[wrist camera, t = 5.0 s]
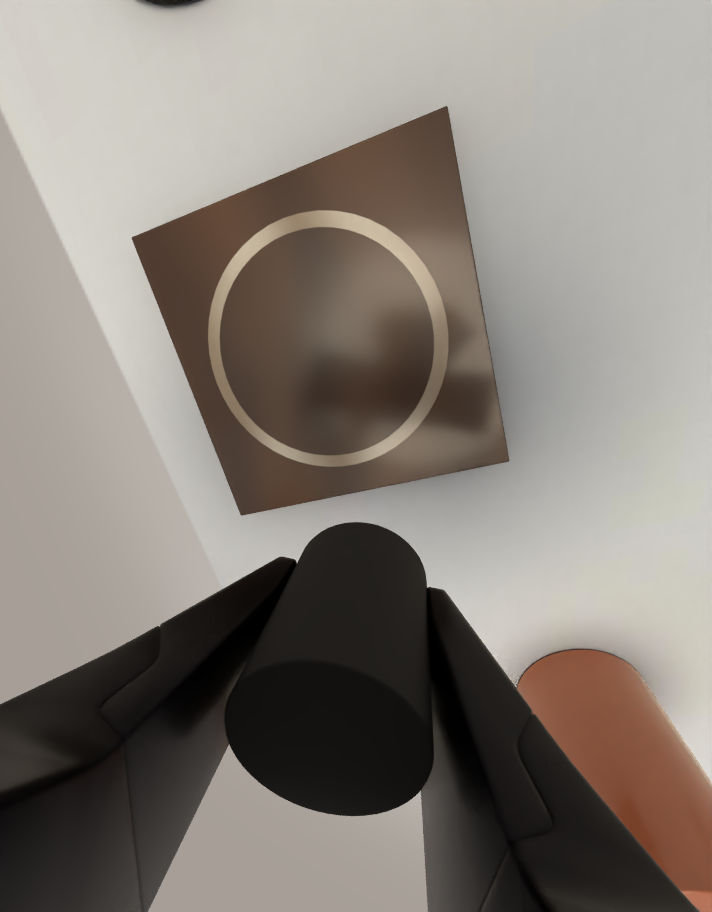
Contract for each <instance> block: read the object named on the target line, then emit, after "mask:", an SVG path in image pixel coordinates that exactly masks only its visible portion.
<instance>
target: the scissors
mask: <svg viewBox="0 0 712 912" xmlns="http://www.w3.org/2000/svg"><path fill="white" fill-rule="evenodd" d="M147 1H150V2H153V3H160V4H176V3H185V2H188V1H191V0H147Z"/></svg>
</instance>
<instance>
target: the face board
mask: <svg viewBox="0 0 712 912" xmlns="http://www.w3.org/2000/svg"><path fill="white" fill-rule="evenodd" d="M132 240H133V243H134V245H135V248H136V250H137V253H138V255H139V258H140V260H141V263H142V266H143V268H144V271H145V273H146V276H147V278H148V281H149V283H150V286H151V288H152V291H153V293H154V296H155V299H156V301H157V304H158V306H159V309H160V311H161V314H162V316H163V319H164V321H165V324H166V326H167V329H168V331H169V334H170V337H171V339H172V342H173V344H174V347H175V349H176V352H177V354H178V357H179V359H180V362H181V364H182V367H183V369H184V372H185V375H186V377H187V380H188V382H189V385H190V387H191V390H192V392H193V395H194V397H195V400H196V402H197V405H198V407H199V410H200V413H201V415H202V418H203V420H204V423H205V425H206V428H207V430H208V433H209V435H210V438H211V440H212V443H213V445H214V448H215V451H216V453H217V456H218V458H219V461H220V463H221V466H222V468H223V471H224V473H225V476H226V478H227V481H228V484H229V486H230V489H231V491H232V494H233V496H234V499H235V501H236V504H237V506H238V509H239V511H240V514H241V515H246V514H251V513H256V512H261V511H266V510H271V509H276V508H281V507H286V506H291V505H296V504H301V503H306V502H311V501H316V500H321V499H325V498H330V497H335V496H340V495H345V494H350V493H355V492H360V491H365V490H370V489H375V488H380V487H385V486H390V485H395V484H400V483H405V482H409V481H414V480H419V479H424V478H429V477H434V476H439V475H444V474H449V473H454V472H459V471H464V470H469V469H474V468H479V467H484V466H489V465H493V464H498V463H503V462H508V461H509V456H508V451H507V445H506V439H505V433H504V428H503V422H502V416H501V411H500V405H499V399H498V393H497V388H496V382H495V376H494V370H493V365H492V359H491V353H490V348H489V342H488V336H487V330H486V325H485V319H484V313H483V307H482V302H481V296H480V290H479V284H478V279H477V273H476V267H475V262H474V256H473V250H472V244H471V239H470V233H469V227H468V221H467V216H466V210H465V204H464V199H463V193H462V187H461V181H460V176H459V170H458V164H457V158H456V153H455V147H454V141H453V136H452V130H451V124H450V118H449V113H448V107H447V106H446V107H443V108H441V109H439V110H436V111H434V112H431V113H429V114H427V115H424V116H422V117H419V118H417V119H415V120H412V121H410V122H407V123H405V124H403V125H400V126H398V127H395V128H393V129H391V130H388V131H386V132H383V133H381V134H379V135H376V136H374V137H371V138H369V139H367V140H364V141H362V142H359V143H357V144H355V145H352V146H350V147H348V148H345V149H343V150H340V151H338V152H336V153H333V154H331V155H328V156H326V157H324V158H321V159H319V160H316V161H314V162H312V163H309V164H307V165H304V166H302V167H300V168H297V169H295V170H292V171H290V172H288V173H285V174H283V175H280V176H278V177H276V178H273V179H271V180H268V181H266V182H264V183H261V184H259V185H257V186H254V187H252V188H249V189H247V190H245V191H242V192H240V193H237V194H235V195H233V196H230V197H228V198H225V199H223V200H221V201H218V202H216V203H213V204H211V205H209V206H206V207H204V208H201V209H199V210H197V211H194V212H192V213H189V214H187V215H185V216H182V217H180V218H177V219H175V220H173V221H170V222H168V223H165V224H163V225H161V226H158V227H156V228H154V229H151V230H149V231H146V232H144V233H142V234H139V235H137V236H134V237H132Z"/></svg>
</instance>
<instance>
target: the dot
mask: <svg viewBox="0 0 712 912" xmlns="http://www.w3.org/2000/svg"><path fill="white" fill-rule="evenodd" d="M224 722H225V731H226V735H227V739H228V742H229V744H230V746H231V749H232V750H233V752H234V754H235V756H236V757H237V759H238V760H239V762H240V763H241V764H242V766H243V767H244V768H245V769H246V770H247V771H248V772H249V773H250V774H251V775H252V776H253V777H254V778H255V779H256V780H257V781H258V782H260V783H261V784H262V785H263V786H265V787H266V788H267V789H269V790H270V791H272V792H274V793H275V794H277V795H278V796H280V797H282V798H284V799H286V800H288V801H290V802H292V803H295V804H297V805H299V806H302V807H305V808H308V809H311V810H315V811H318V812H323V813H327V814H334V815H343V816H365V815H372V814H378V813H382V812H386V811H389V810H392V809H394V808H397V807H399V806H401V805H403V804H405V803H406V802H408V801H409V800H411V799H412V798H413V797H415V796H416V794H418V793H419V792H420V790H421V789H422V788H423V787H424V785H425V784H426V782H427V780H428V778H429V776H430V773H431V771H432V767H433V762H434V739H433V717H432V695H431V672H430V650H429V630H428V609H427V583H426V574H425V570H424V567H423V564H422V562H421V560H420V558H419V556H418V555H417V553H416V552H415V550H414V549H413V548H412V547H411V546H410V545H409V544H408V543H407V542H406V541H405V540H404V539H403V538H401V537H400V536H399V535H397V534H396V533H394V532H392V531H390V530H388V529H386V528H383V527H381V526H378V525H374V524H369V523H362V522H351V523H343V524H339V525H335V526H333V527H330V528H327V529H326V530H324V531H322V532H320V533H319V534H318V535H316V536H315V537H314V538H313V539H312V540H311V541H310V542H309V543H308V545H307V546H306V547H305V549H304V551H303V553H302V555H301V557H300V559H299V561H298V563H297V565H296V567H295V569H294V571H293V572H292V574H291V576H290V578H289V580H288V582H287V584H286V586H285V588H284V590H283V592H282V594H281V596H280V598H279V600H278V602H277V604H276V606H275V608H274V610H273V612H272V613H271V615H270V617H269V619H268V621H267V623H266V625H265V627H264V629H263V631H262V633H261V635H260V637H259V639H258V641H257V643H256V645H255V647H254V649H253V651H252V653H251V654H250V656H249V658H248V660H247V662H246V664H245V666H244V668H243V670H242V672H241V674H240V676H239V678H238V680H237V682H236V684H235V686H234V688H233V690H232V692H231V694H230V696H229V697H228V700H227V704H226V707H225V716H224Z"/></svg>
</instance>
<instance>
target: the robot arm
mask: <svg viewBox="0 0 712 912" xmlns="http://www.w3.org/2000/svg"><path fill="white" fill-rule="evenodd" d="M296 565H297V563H296V560H295V559H291V558H286V557H279V558H277V559H275V560H273V561H271V562H270V563H268V564H266V565H264V566H263V567H261V568H259V569H257V570H256V571H254V572H252V573H250V574H248V575H247V576H245V577H243V578H241V579H240V580H238V581H236V582H234V583H233V584H231V585H229V586H227V587H226V588H224V589H222V590H220V591H219V592H217V593H215V594H213V595H211V596H210V597H208V598H206V599H205V600H203V601H201V602H199V603H197V604H196V605H194V606H192V607H190V608H189V609H187V610H185V611H183V612H182V613H180V614H178V615H176V616H174V617H173V618H171V619H169V620H167V621H166V622H164V623H162V624H161V625H160V627H159V626H157V627H155V628H153V629H151V630H149V631H148V632H146V633H144V634H142V635H141V636H139V637H137V638H135V639H133V640H132V641H130V642H128V643H126V644H124V645H122V646H120V647H118V648H117V649H115V650H113V651H111V652H109V653H107V654H105V655H103V656H101V657H99V658H97V659H95V660H93V661H91V662H88V663H86V664H84V665H82V666H80V667H78V668H76V669H74V670H72V671H70V672H68V673H66V674H63V675H61V676H60V677H57V678H55V679H53V680H51V681H49V682H46V683H45V684H42V685H40V686H38V687H36V688H34V689H32V690H30V691H28V692H25V693H23V694H21V695H19V696H17V697H15V698H13V699H11V700H9V701H6V702H4V703H2V704H0V912H148V910H149V908H150V906H151V904H152V902H153V900H154V898H155V896H156V893H157V892H158V889H159V887H160V885H161V883H162V881H163V879H164V877H165V875H166V873H167V871H168V869H169V867H170V865H171V863H172V860H173V858H174V856H175V854H176V852H177V850H178V848H179V846H180V844H181V842H182V840H183V838H184V836H185V834H186V831H187V830H188V827H189V826H190V823H191V821H192V819H193V817H194V815H195V813H196V811H197V809H198V807H199V805H200V803H201V800H202V799H203V797H204V795H205V792H206V790H207V788H208V786H209V784H210V782H211V780H212V778H213V776H214V774H215V772H216V770H217V768H218V766H219V764H220V762H221V759H222V757H223V755H224V753H225V751H226V749H227V747H228V745H229V742H228V739H227V735H226V731H225V722H224V716H225V707H226V704H227V700H228V697H229V696H230V694H231V692H232V690H233V688H234V686H235V684H236V682H237V680H238V678H239V676H240V674H241V672H242V670H243V668H244V666H245V664H246V662H247V660H248V658H249V656H250V654H251V653H252V651H253V649H254V647H255V645H256V643H257V641H258V639H259V637H260V635H261V633H262V631H263V629H264V627H265V625H266V623H267V621H268V619H269V617H270V615H271V613H272V612H273V610H274V608H275V606H276V604H277V602H278V600H279V598H280V596H281V594H282V592H283V590H284V588H285V586H286V584H287V582H288V580H289V578H290V576H291V574H292V572H293V571H294V569H295V567H296ZM427 609H428V630H429V650H430V672H431V695H432V717H433V739H434V762H433V767H432V771H431V773H430V776H429V778H428V780H427V782H426V784H425V785H424V787H423V788H422V789H421V799H422V817H423V834H424V852H425V869H426V886H427V902H428V912H700V911H699V910H698V909H697V908H696V907H695V906H694V905H693V904H692V903H691V901H690V900H689V899H688V898H687V897H686V896H685V895H684V894H683V893H682V891H681V890H680V889H679V888H678V887H677V886H676V885H675V884H674V882H673V881H672V880H671V879H670V878H669V876H668V875H667V874H666V873H665V872H664V871H663V869H662V868H661V867H660V866H659V865H658V864H657V862H656V861H655V860H654V859H653V858H652V857H651V855H650V854H649V853H648V852H647V851H646V850H645V848H644V847H643V846H642V845H641V844H640V843H639V841H638V840H637V839H636V838H635V837H634V835H633V834H632V833H631V832H630V831H629V830H628V828H627V827H626V826H625V825H624V824H623V823H622V821H621V820H620V819H619V818H618V817H617V816H616V814H615V813H614V812H613V811H612V810H611V809H610V807H609V806H608V805H607V804H606V803H605V802H604V800H603V799H602V798H601V797H600V796H599V794H598V793H597V792H596V791H595V790H594V788H593V787H592V786H591V785H590V784H589V782H588V781H587V780H586V779H585V778H584V776H583V775H582V774H581V773H580V771H579V770H578V769H577V768H576V767H575V765H574V764H573V763H572V762H571V761H570V759H569V758H568V757H567V755H566V754H565V753H564V751H563V750H562V749H561V747H560V746H559V745H558V744H557V742H556V741H555V740H554V738H553V737H552V736H551V734H550V733H549V732H548V730H547V729H546V728H545V726H544V725H543V724H542V722H541V721H540V720H539V718H538V717H537V715H536V714H532V713H533V711H532V709H531V708H530V706H529V705H528V703H527V702H526V701H525V699H524V698H523V697H522V695H521V694H520V693H519V691H518V690H517V688H516V687H515V686H514V684H513V683H512V682H511V680H510V679H509V678H508V676H507V675H506V673H505V672H504V671H503V669H502V668H501V667H500V665H499V664H498V663H497V661H496V660H495V659H494V657H493V656H492V654H491V653H490V652H489V650H488V649H487V648H486V646H485V645H484V644H483V642H482V641H481V639H480V638H479V637H478V635H477V634H476V633H475V631H474V630H473V629H472V627H471V626H470V624H469V623H468V622H467V620H466V619H465V618H464V616H463V615H462V614H461V612H460V611H459V609H458V608H457V607H456V605H455V604H454V603H453V601H452V600H451V599H450V597H449V596H448V594H447V593H446V592H445V591H444V590H442V589H437V588H432V587H428V588H427Z"/></svg>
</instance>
